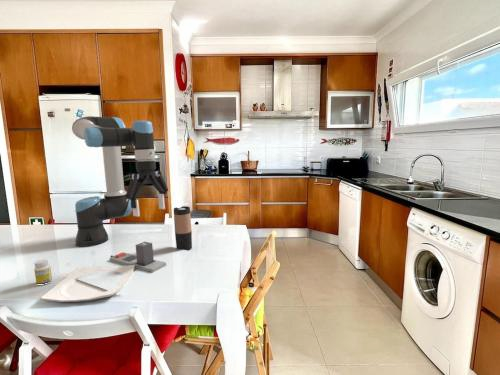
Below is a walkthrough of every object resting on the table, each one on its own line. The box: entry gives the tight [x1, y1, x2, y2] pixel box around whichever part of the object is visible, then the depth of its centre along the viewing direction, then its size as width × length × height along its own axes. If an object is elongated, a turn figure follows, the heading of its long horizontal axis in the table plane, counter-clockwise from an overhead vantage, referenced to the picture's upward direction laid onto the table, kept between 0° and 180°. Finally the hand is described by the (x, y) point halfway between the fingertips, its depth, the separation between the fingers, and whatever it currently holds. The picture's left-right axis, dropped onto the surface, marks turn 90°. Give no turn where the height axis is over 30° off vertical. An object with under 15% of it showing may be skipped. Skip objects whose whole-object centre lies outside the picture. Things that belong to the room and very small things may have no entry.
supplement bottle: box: [34, 258, 53, 285], centre depth 104 cm, size 5×5×8 cm
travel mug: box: [173, 205, 193, 251], centre depth 134 cm, size 8×8×20 cm
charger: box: [135, 241, 155, 266], centre depth 114 cm, size 4×4×9 cm
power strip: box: [109, 252, 167, 273], centre depth 118 cm, size 30×7×3 cm, turn 61°
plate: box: [40, 265, 135, 303], centre depth 101 cm, size 24×24×3 cm
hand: (149, 212), depth 116 cm, fingers open, 13 cm apart
